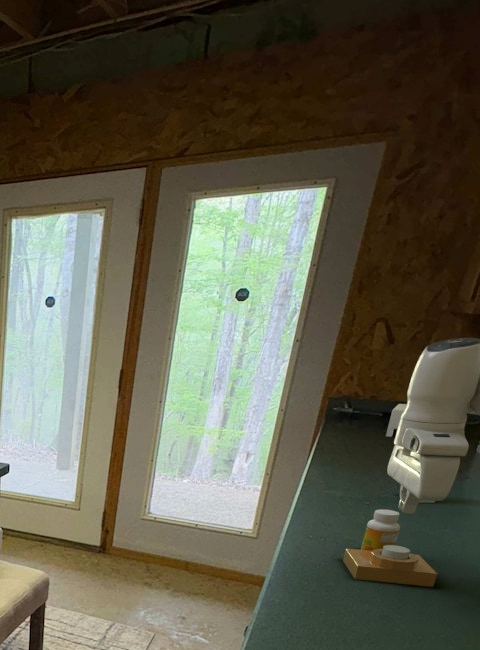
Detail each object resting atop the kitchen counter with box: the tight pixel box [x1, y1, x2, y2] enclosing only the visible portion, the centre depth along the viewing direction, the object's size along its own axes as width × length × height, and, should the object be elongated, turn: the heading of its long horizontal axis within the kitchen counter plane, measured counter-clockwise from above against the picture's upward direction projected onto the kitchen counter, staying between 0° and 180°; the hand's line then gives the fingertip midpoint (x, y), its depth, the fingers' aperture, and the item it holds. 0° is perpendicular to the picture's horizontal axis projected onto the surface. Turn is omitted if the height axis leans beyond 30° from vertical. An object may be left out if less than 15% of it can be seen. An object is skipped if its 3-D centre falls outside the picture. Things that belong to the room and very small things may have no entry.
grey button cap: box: [381, 545, 411, 560], centre depth 118 cm, size 4×4×2 cm
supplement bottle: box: [360, 508, 401, 551], centre depth 129 cm, size 5×5×10 cm
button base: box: [342, 548, 438, 588], centre depth 120 cm, size 12×10×5 cm
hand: (405, 511), depth 115 cm, fingers closed
